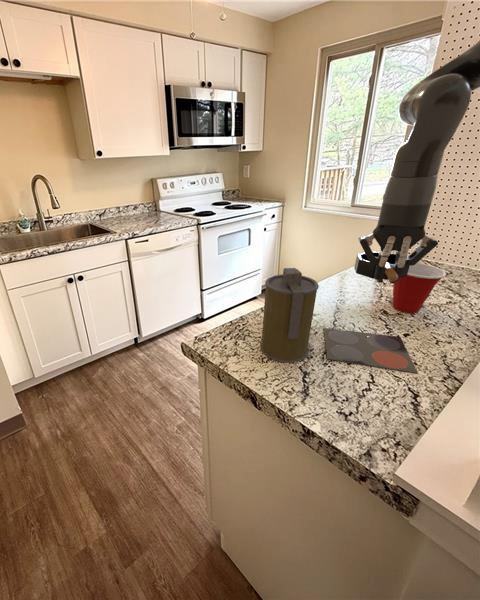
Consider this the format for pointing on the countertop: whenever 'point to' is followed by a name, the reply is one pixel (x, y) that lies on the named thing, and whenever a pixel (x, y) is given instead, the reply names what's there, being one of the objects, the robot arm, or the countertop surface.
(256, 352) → the countertop surface
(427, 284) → the plastic cup
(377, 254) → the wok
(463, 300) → the countertop surface
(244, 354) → the countertop surface
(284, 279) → the canister
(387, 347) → the grey slab
